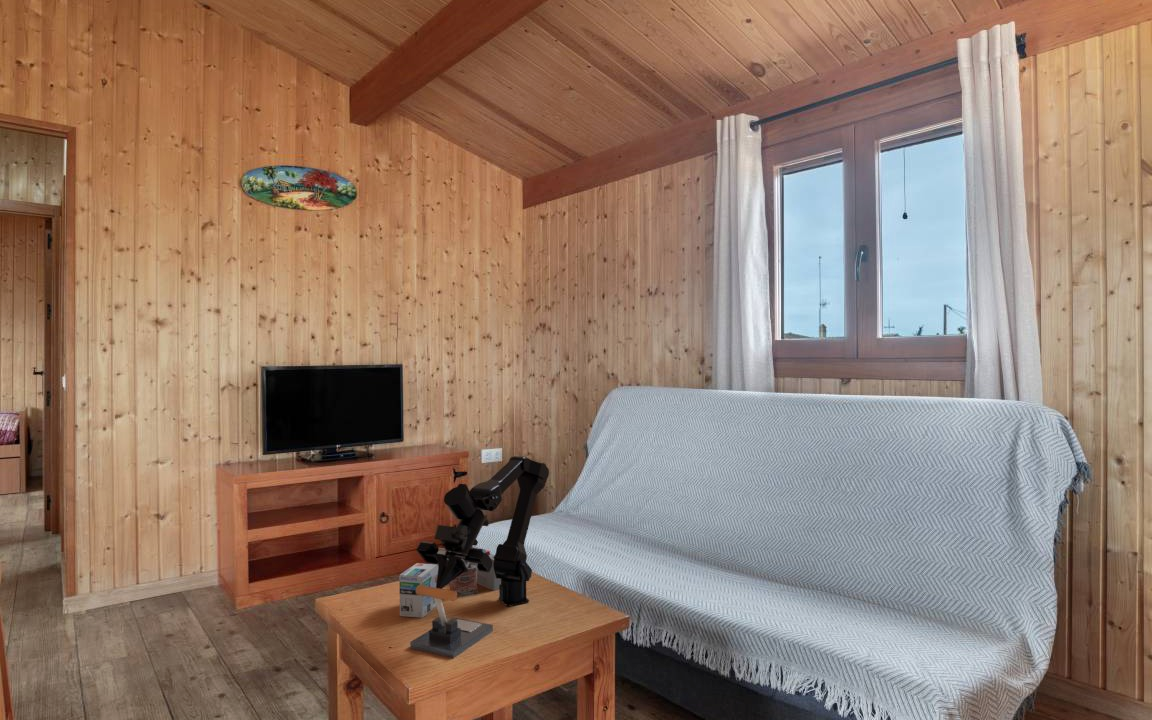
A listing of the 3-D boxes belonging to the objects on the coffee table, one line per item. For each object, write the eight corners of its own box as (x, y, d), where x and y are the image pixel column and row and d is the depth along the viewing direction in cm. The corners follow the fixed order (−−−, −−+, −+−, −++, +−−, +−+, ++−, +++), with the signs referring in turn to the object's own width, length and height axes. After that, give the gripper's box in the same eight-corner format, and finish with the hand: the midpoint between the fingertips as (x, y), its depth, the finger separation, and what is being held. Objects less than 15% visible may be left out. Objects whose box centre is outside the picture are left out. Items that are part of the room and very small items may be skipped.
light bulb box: (423, 618, 170) (422, 576, 170) (398, 616, 171) (398, 575, 171) (439, 603, 180) (439, 563, 180) (416, 601, 181) (416, 562, 181)
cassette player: (502, 588, 191) (501, 554, 191) (494, 591, 189) (494, 556, 189) (471, 576, 203) (471, 543, 202) (464, 578, 201) (463, 545, 201)
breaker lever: (430, 618, 157) (420, 582, 154) (465, 625, 153) (456, 589, 150) (424, 624, 155) (414, 588, 152) (460, 632, 151) (450, 595, 148)
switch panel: (452, 622, 167) (452, 601, 167) (492, 630, 161) (492, 608, 161) (410, 648, 152) (410, 624, 152) (453, 658, 147) (453, 633, 147)
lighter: (450, 598, 184) (450, 562, 184) (448, 594, 187) (447, 559, 187) (479, 594, 187) (478, 558, 187) (476, 590, 190) (475, 555, 190)
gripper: (422, 507, 161) (389, 564, 151) (486, 514, 153) (457, 574, 143) (441, 534, 168) (411, 589, 158) (504, 542, 160) (477, 601, 150)
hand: (438, 588), depth 152 cm, fingers closed, pressing on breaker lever
